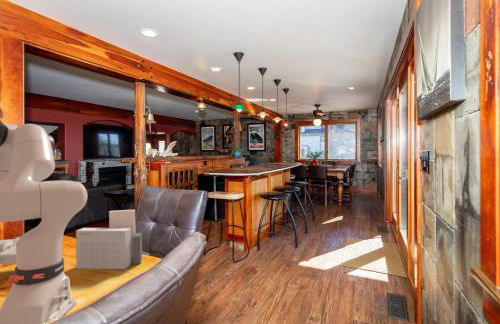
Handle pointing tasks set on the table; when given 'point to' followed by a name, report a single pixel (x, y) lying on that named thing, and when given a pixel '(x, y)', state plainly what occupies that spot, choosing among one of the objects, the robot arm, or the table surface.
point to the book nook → (128, 221)
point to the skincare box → (103, 248)
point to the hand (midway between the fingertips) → (45, 248)
